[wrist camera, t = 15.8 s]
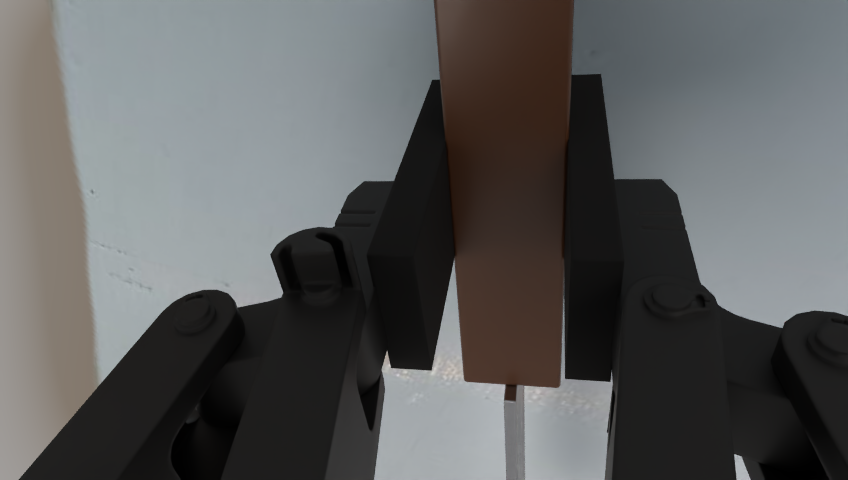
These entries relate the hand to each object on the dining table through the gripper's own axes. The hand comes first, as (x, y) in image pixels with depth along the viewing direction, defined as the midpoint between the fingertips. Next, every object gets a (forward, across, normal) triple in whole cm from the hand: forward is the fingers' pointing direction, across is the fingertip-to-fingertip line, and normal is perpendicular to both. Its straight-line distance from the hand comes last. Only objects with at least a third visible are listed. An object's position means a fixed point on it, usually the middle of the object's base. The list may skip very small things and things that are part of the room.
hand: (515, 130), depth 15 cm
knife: (0, 0, -8) cm, 8 cm away
